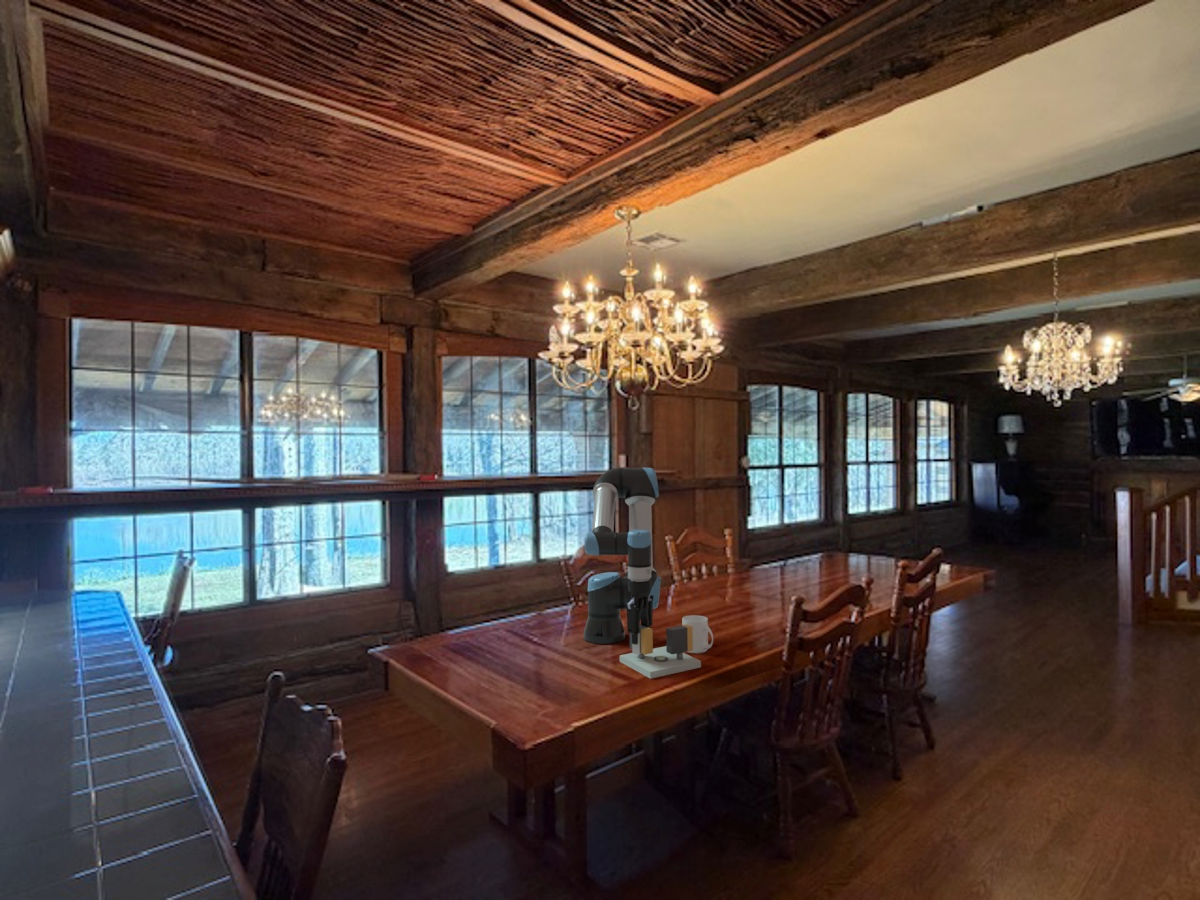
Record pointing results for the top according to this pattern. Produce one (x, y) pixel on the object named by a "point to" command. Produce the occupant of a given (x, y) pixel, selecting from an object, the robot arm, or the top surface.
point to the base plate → (659, 663)
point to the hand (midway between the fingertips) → (640, 651)
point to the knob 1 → (644, 641)
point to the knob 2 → (679, 640)
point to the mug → (699, 632)
